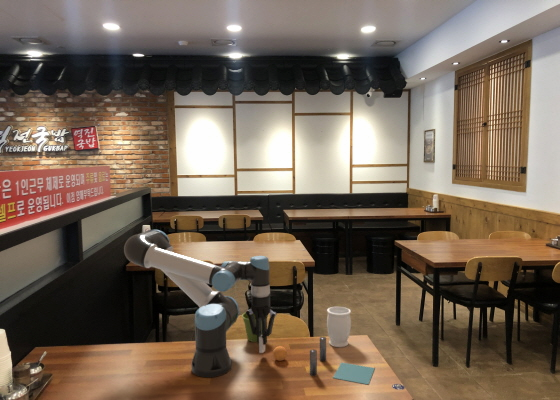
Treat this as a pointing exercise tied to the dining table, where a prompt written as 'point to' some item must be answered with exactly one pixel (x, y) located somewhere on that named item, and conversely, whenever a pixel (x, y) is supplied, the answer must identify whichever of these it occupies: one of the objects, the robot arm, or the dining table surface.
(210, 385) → the dining table surface
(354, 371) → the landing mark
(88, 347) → the dining table surface
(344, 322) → the jar
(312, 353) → the post
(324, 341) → the post
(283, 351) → the ball
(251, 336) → the plant pot
